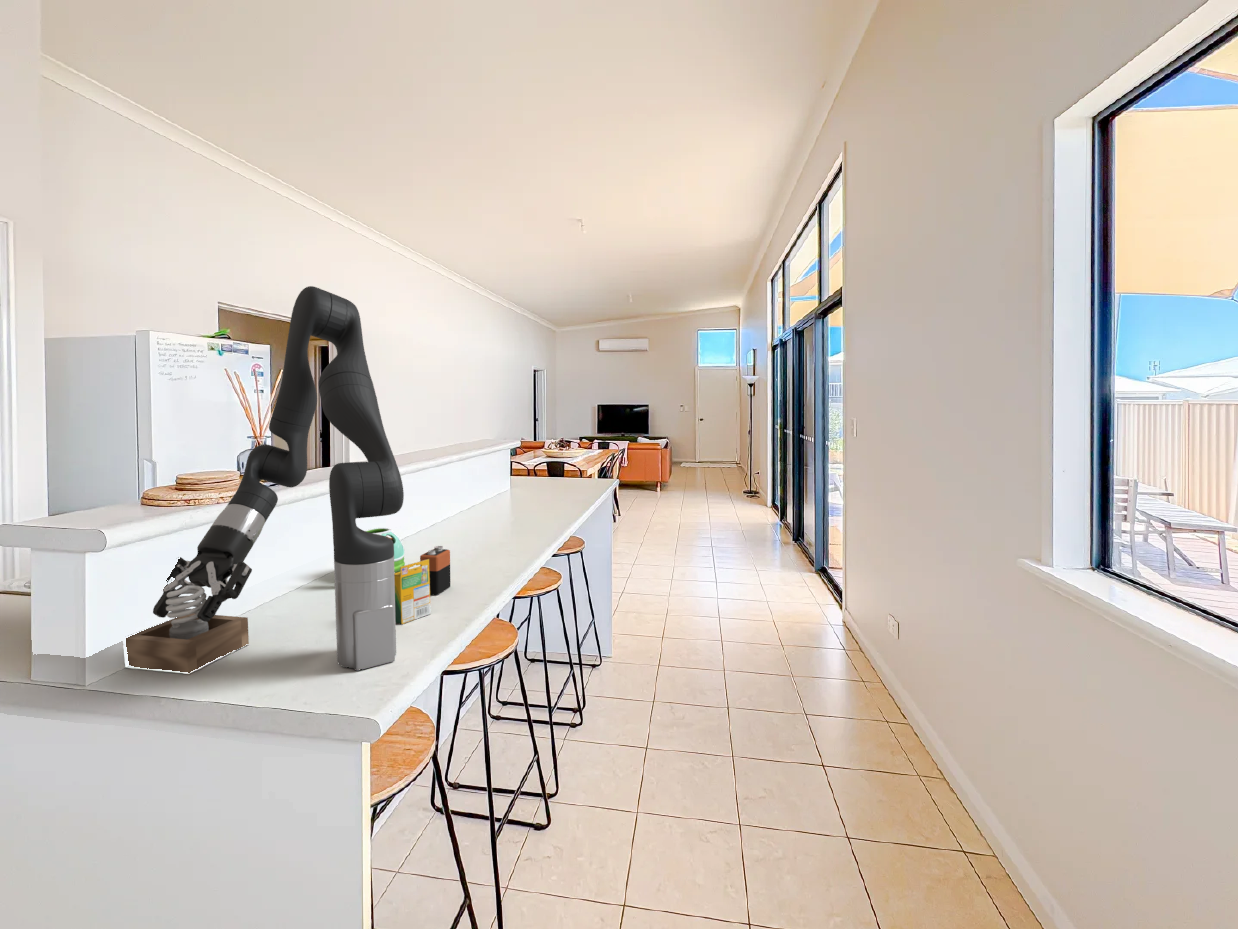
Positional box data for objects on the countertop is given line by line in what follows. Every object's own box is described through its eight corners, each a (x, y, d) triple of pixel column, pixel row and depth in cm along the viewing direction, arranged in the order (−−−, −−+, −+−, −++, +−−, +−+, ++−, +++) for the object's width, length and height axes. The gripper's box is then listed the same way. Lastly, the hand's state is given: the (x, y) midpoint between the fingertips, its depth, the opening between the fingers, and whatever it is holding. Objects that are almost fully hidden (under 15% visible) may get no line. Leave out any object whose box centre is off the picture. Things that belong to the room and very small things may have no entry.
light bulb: (205, 645, 104) (199, 579, 102) (216, 654, 100) (210, 585, 99) (166, 656, 99) (159, 587, 98) (176, 666, 96) (169, 594, 95)
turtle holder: (323, 588, 138) (321, 538, 136) (375, 568, 155) (373, 523, 154) (368, 593, 134) (366, 542, 133) (416, 572, 152) (415, 526, 150)
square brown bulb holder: (248, 645, 105) (247, 617, 104) (188, 674, 93) (187, 644, 92) (190, 639, 107) (188, 612, 106) (124, 668, 95) (122, 638, 94)
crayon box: (421, 611, 123) (420, 556, 122) (431, 614, 121) (430, 558, 120) (391, 622, 117) (390, 564, 116) (401, 625, 115) (400, 566, 114)
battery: (451, 587, 140) (450, 545, 139) (437, 596, 133) (437, 552, 132) (434, 586, 141) (433, 544, 140) (419, 594, 134) (418, 551, 133)
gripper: (185, 521, 106) (126, 604, 96) (255, 525, 104) (202, 610, 94) (212, 544, 112) (159, 624, 102) (278, 548, 110) (231, 630, 99)
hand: (180, 617), depth 98 cm, fingers open, 8 cm apart
